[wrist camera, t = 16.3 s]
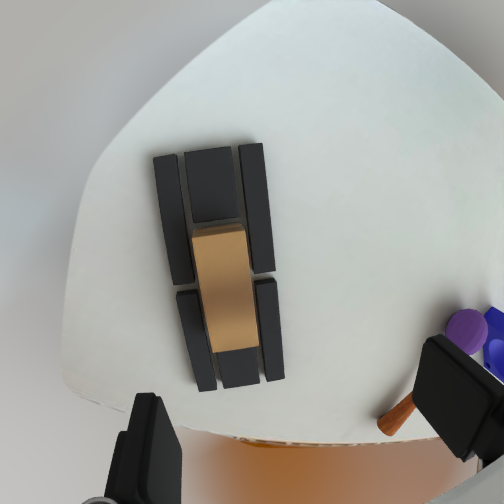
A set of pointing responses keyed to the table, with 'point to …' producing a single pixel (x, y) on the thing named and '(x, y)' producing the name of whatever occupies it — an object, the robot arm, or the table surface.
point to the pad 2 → (240, 360)
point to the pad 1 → (214, 203)
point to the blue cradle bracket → (494, 343)
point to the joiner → (226, 286)
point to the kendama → (461, 334)
